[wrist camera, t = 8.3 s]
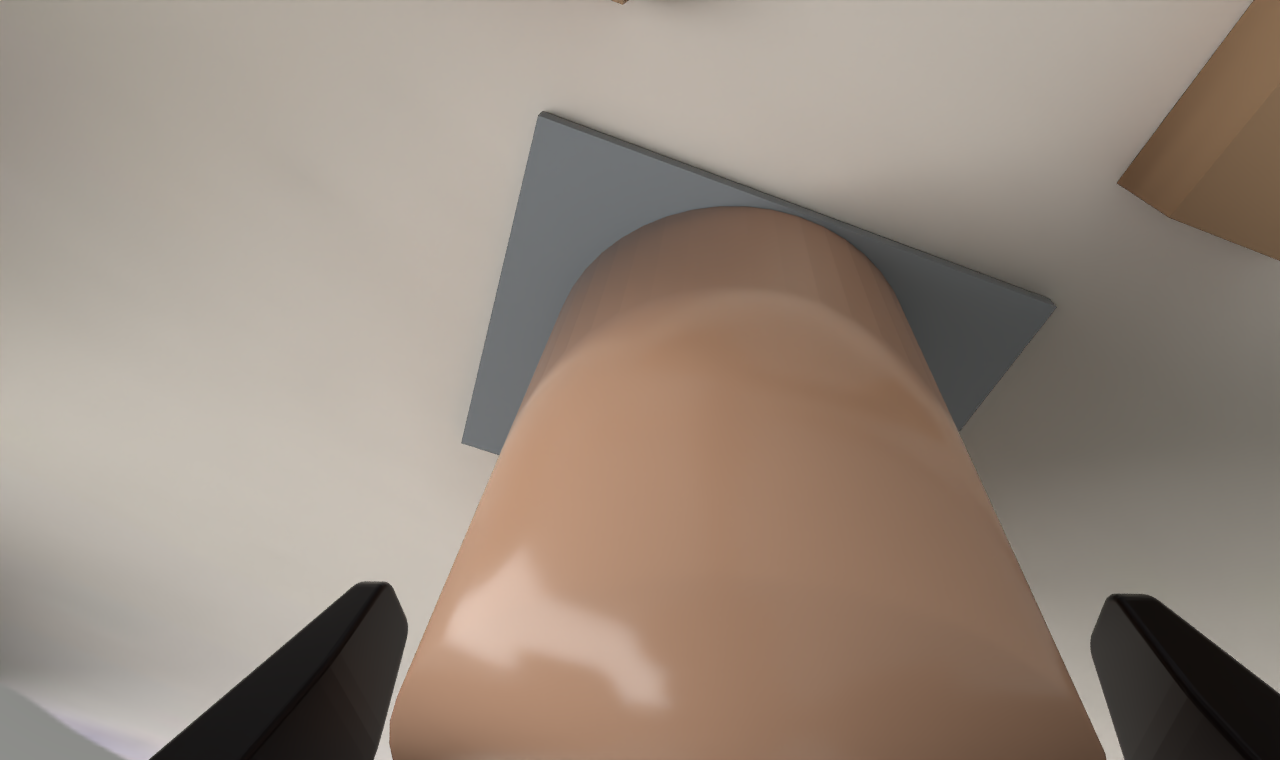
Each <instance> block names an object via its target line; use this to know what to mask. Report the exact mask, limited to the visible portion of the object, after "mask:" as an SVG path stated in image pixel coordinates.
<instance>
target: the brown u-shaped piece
mask: <svg viewBox="0 0 1280 760" xmlns="http://www.w3.org/2000/svg"><path fill="white" fill-rule="evenodd" d="M612 1H614V2H617V3H620V4H622V5H623V4H624V3H625V2H627V1H628V0H612ZM1117 184H1119V185H1120V186H1122V187H1123V188H1125V189H1126V190H1128V191H1129V192H1131V193H1132V194H1134V195H1136V196H1137V197H1139V198H1140V199H1142V200H1143V201H1145V202H1146V203H1148V204H1149V205H1151V206H1152V207H1154V208H1155V209H1157V210H1158V211H1160V212H1161V213H1163V214H1164V215H1166V216H1168V217H1169V218H1171V219H1174V220H1177V221H1179V222H1182V223H1184V224H1187V225H1189V226H1192V227H1195V228H1197V229H1200V230H1202V231H1205V232H1207V233H1210V234H1213V235H1215V236H1218V237H1220V238H1223V239H1225V240H1228V241H1230V242H1233V243H1236V244H1238V245H1241V246H1243V247H1246V248H1248V249H1251V250H1254V251H1256V252H1259V253H1261V254H1264V255H1266V256H1269V257H1272V258H1274V259H1277V260H1279V261H1280V0H1254V1H1253V2H1252V4H1251V5H1250V6H1249V7H1248V9H1247V10H1246V11H1245V13H1244V14H1243V15H1242V17H1241V18H1240V19H1239V21H1238V22H1237V23H1236V25H1235V26H1234V27H1233V29H1232V30H1231V31H1230V33H1229V34H1228V35H1227V37H1226V38H1225V39H1224V41H1223V42H1222V43H1221V45H1220V46H1219V47H1218V49H1217V50H1216V51H1215V53H1214V54H1213V55H1212V57H1211V58H1210V59H1209V61H1208V62H1207V63H1206V65H1205V66H1204V67H1203V69H1202V70H1201V71H1200V73H1199V74H1198V75H1197V77H1196V78H1195V79H1194V81H1193V82H1192V83H1191V85H1190V86H1189V87H1188V89H1187V90H1186V91H1185V93H1184V94H1183V95H1182V97H1181V98H1180V99H1179V101H1178V102H1177V103H1176V105H1175V106H1174V107H1173V109H1172V110H1171V111H1170V113H1169V114H1168V115H1167V117H1166V118H1165V119H1164V121H1163V122H1162V123H1161V125H1160V126H1159V127H1158V129H1157V130H1156V131H1155V133H1154V134H1153V135H1152V137H1151V138H1150V139H1149V141H1148V142H1147V143H1146V145H1145V146H1144V147H1143V149H1142V150H1141V151H1140V153H1139V154H1138V155H1137V157H1136V158H1135V159H1134V161H1133V162H1132V163H1131V165H1130V166H1129V167H1128V169H1127V170H1126V171H1125V173H1124V174H1123V175H1122V177H1121V178H1120V179H1119V181H1118V182H1117Z"/></svg>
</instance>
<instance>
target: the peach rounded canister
mask: <svg viewBox="0 0 1280 760" xmlns="http://www.w3.org/2000/svg"><path fill="white" fill-rule="evenodd" d="M389 744H390V749H391V753H392V758H393V760H1106V755H1105V752H1104V750H1103V748H1102V745H1101V743H1100V741H1099V739H1098V737H1097V734H1096V732H1095V730H1094V728H1093V726H1092V723H1091V721H1090V719H1089V717H1088V715H1087V712H1086V710H1085V708H1084V706H1083V704H1082V701H1081V699H1080V697H1079V695H1078V693H1077V691H1076V688H1075V686H1074V684H1073V682H1072V680H1071V677H1070V675H1069V673H1068V671H1067V669H1066V666H1065V664H1064V662H1063V660H1062V658H1061V655H1060V653H1059V651H1058V649H1057V647H1056V644H1055V642H1054V640H1053V638H1052V636H1051V634H1050V631H1049V629H1048V627H1047V625H1046V623H1045V620H1044V618H1043V616H1042V614H1041V612H1040V609H1039V607H1038V605H1037V603H1036V601H1035V598H1034V596H1033V594H1032V592H1031V590H1030V587H1029V585H1028V583H1027V581H1026V579H1025V576H1024V574H1023V572H1022V570H1021V568H1020V566H1019V563H1018V561H1017V559H1016V557H1015V555H1014V552H1013V550H1012V548H1011V546H1010V544H1009V541H1008V539H1007V537H1006V535H1005V533H1004V530H1003V528H1002V526H1001V524H1000V522H999V519H998V517H997V515H996V513H995V511H994V509H993V506H992V504H991V502H990V500H989V498H988V495H987V493H986V491H985V489H984V487H983V484H982V482H981V480H980V478H979V476H978V473H977V471H976V469H975V467H974V465H973V462H972V460H971V458H970V456H969V454H968V451H967V449H966V447H965V445H964V443H963V441H962V438H961V436H960V434H959V432H958V430H957V427H956V425H955V423H954V421H953V419H952V416H951V414H950V412H949V410H948V408H947V405H946V403H945V401H944V399H943V397H942V394H941V392H940V390H939V388H938V386H937V384H936V381H935V379H934V377H933V375H932V373H931V370H930V368H929V366H928V364H927V362H926V359H925V357H924V355H923V353H922V351H921V348H920V346H919V344H918V342H917V340H916V337H915V335H914V333H913V331H912V329H911V326H910V324H909V322H908V320H907V318H906V316H905V313H904V311H903V309H902V307H901V305H900V303H899V300H898V298H897V296H896V294H895V292H894V290H893V289H892V287H891V286H890V284H889V283H888V281H887V280H886V278H885V277H884V276H883V274H882V273H881V271H880V270H879V269H878V268H877V267H876V266H875V265H874V264H873V263H872V262H871V261H870V260H869V259H868V258H867V256H866V255H865V254H863V253H862V252H861V251H860V250H858V249H857V248H856V247H854V246H853V245H852V244H851V243H849V242H848V241H847V240H846V239H844V238H842V237H840V236H839V235H837V234H835V233H834V232H832V231H830V230H828V229H827V228H825V227H823V226H821V225H818V224H816V223H813V222H811V221H808V220H806V219H804V218H801V217H798V216H795V215H791V214H787V213H783V212H779V211H775V210H770V209H762V208H754V207H747V206H719V207H711V208H703V209H695V210H690V211H686V212H682V213H678V214H674V215H670V216H667V217H664V218H662V219H659V220H657V221H654V222H652V223H649V224H647V225H644V226H642V227H640V228H638V229H637V230H635V231H633V232H631V233H630V234H628V235H626V236H624V237H622V238H621V239H619V240H618V241H617V242H615V243H614V244H613V245H612V246H610V247H609V248H608V249H606V250H605V251H604V252H602V253H601V254H600V255H599V256H598V257H597V258H596V259H595V260H594V261H593V262H592V263H591V264H590V265H589V266H588V267H587V268H586V269H585V271H584V272H583V273H582V275H581V276H580V278H579V279H578V280H577V282H576V283H575V284H574V286H573V287H572V289H571V291H570V293H569V295H568V296H567V298H566V300H565V302H564V304H563V306H562V308H561V311H560V313H559V315H558V318H557V320H556V323H555V325H554V327H553V330H552V332H551V334H550V337H549V339H548V341H547V344H546V346H545V349H544V351H543V353H542V356H541V358H540V360H539V363H538V365H537V367H536V370H535V372H534V375H533V377H532V379H531V382H530V384H529V386H528V389H527V391H526V393H525V396H524V398H523V401H522V403H521V405H520V408H519V410H518V412H517V415H516V417H515V419H514V422H513V424H512V427H511V429H510V431H509V434H508V436H507V438H506V441H505V443H504V446H503V448H502V450H501V453H500V455H499V457H498V460H497V462H496V464H495V467H494V469H493V472H492V474H491V476H490V479H489V481H488V483H487V486H486V488H485V490H484V493H483V495H482V498H481V500H480V502H479V505H478V507H477V509H476V512H475V514H474V516H473V519H472V521H471V524H470V526H469V528H468V531H467V533H466V535H465V538H464V540H463V542H462V545H461V547H460V550H459V552H458V554H457V557H456V559H455V561H454V564H453V566H452V568H451V571H450V573H449V576H448V578H447V580H446V583H445V585H444V587H443V590H442V592H441V594H440V597H439V599H438V602H437V604H436V606H435V609H434V611H433V613H432V616H431V618H430V620H429V623H428V625H427V628H426V630H425V632H424V635H423V637H422V639H421V642H420V644H419V646H418V649H417V651H416V654H415V656H414V658H413V661H412V663H411V665H410V668H409V670H408V672H407V675H406V677H405V680H404V682H403V684H402V687H401V689H400V691H399V694H398V696H397V699H396V702H395V706H394V709H393V712H392V716H391V719H390V740H389Z"/></svg>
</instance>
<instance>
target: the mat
mask: <svg viewBox="0 0 1280 760" xmlns="http://www.w3.org/2000/svg"><path fill="white" fill-rule="evenodd" d="M719 206H747V207H754V208H762V209H770V210H775V211H779V212H783V213H787V214H791V215H795V216H798V217H801V218H804V219H806V220H808V221H811V222H813V223H816V224H818V225H821V226H823V227H825V228H827V229H828V230H830V231H832V232H834V233H835V234H837V235H839V236H840V237H842V238H844V239H846V240H847V241H848V242H849V243H851V244H852V245H853V246H854V247H856V248H857V249H858V250H860V251H861V252H862V253H863V254H865V255H866V256H867V258H868V259H869V260H870V261H871V262H872V263H873V264H874V265H875V266H876V267H877V268H878V269H879V270H880V271H881V273H882V274H883V276H884V277H885V278H886V280H887V281H888V283H889V284H890V286H891V287H892V289H893V290H894V292H895V294H896V296H897V298H898V300H899V303H900V305H901V307H902V309H903V311H904V313H905V316H906V318H907V320H908V322H909V324H910V326H911V329H912V331H913V333H914V335H915V337H916V340H917V342H918V344H919V346H920V348H921V351H922V353H923V355H924V357H925V359H926V362H927V364H928V366H929V368H930V370H931V373H932V375H933V377H934V379H935V381H936V384H937V386H938V388H939V390H940V392H941V394H942V397H943V399H944V401H945V403H946V405H947V408H948V410H949V412H950V414H951V416H952V419H953V421H954V423H955V425H956V427H957V430H958V432H959V431H960V430H961V429H962V427H963V426H964V425H965V424H966V422H967V421H968V420H969V418H970V417H971V416H972V415H973V413H974V412H975V411H976V410H977V408H978V407H979V406H980V404H981V403H982V402H983V401H984V399H985V398H986V397H987V396H988V394H989V393H990V392H991V390H992V389H993V388H994V387H995V385H996V384H997V383H998V381H999V380H1000V379H1001V378H1002V376H1003V375H1004V374H1005V373H1006V371H1007V370H1008V369H1009V367H1010V366H1011V365H1012V364H1013V362H1014V361H1015V360H1016V359H1017V357H1018V356H1019V355H1020V353H1021V352H1022V351H1023V350H1024V348H1025V347H1026V346H1027V344H1028V343H1029V342H1030V341H1031V339H1032V338H1033V337H1034V336H1035V334H1036V333H1037V332H1038V330H1039V329H1040V328H1041V327H1042V325H1043V324H1044V323H1045V321H1046V320H1047V319H1048V318H1049V316H1050V315H1051V314H1052V313H1053V311H1054V310H1055V309H1056V306H1055V304H1054V303H1053V302H1052V301H1051V300H1050V299H1049V298H1046V297H1043V296H1041V295H1038V294H1035V293H1032V292H1030V291H1027V290H1024V289H1022V288H1019V287H1016V286H1014V285H1011V284H1008V283H1005V282H1003V281H1000V280H997V279H995V278H992V277H989V276H987V275H984V274H981V273H978V272H976V271H973V270H970V269H968V268H965V267H962V266H959V265H957V264H954V263H951V262H949V261H946V260H943V259H941V258H938V257H935V256H932V255H930V254H927V253H924V252H922V251H919V250H916V249H914V248H911V247H908V246H905V245H903V244H900V243H897V242H895V241H892V240H889V239H887V238H884V237H881V236H878V235H876V234H873V233H870V232H868V231H865V230H862V229H860V228H857V227H854V226H851V225H849V224H846V223H843V222H841V221H838V220H835V219H833V218H830V217H827V216H824V215H822V214H819V213H816V212H814V211H811V210H808V209H806V208H803V207H800V206H797V205H795V204H792V203H789V202H787V201H784V200H781V199H779V198H776V197H773V196H770V195H768V194H765V193H762V192H760V191H757V190H754V189H752V188H749V187H746V186H743V185H741V184H738V183H735V182H733V181H730V180H727V179H725V178H722V177H719V176H716V175H714V174H711V173H708V172H706V171H703V170H700V169H698V168H695V167H692V166H689V165H687V164H684V163H681V162H679V161H676V160H673V159H671V158H668V157H665V156H662V155H660V154H657V153H654V152H652V151H649V150H646V149H644V148H641V147H638V146H635V145H633V144H630V143H627V142H625V141H622V140H619V139H617V138H614V137H611V136H608V135H606V134H603V133H600V132H598V131H595V130H592V129H589V128H587V127H584V126H581V125H579V124H576V123H573V122H571V121H568V120H565V119H562V118H560V117H557V116H554V115H552V114H549V113H546V112H544V111H542V112H541V113H540V114H539V115H538V119H537V123H536V127H535V131H534V136H533V140H532V144H531V148H530V153H529V157H528V161H527V165H526V170H525V174H524V178H523V182H522V187H521V191H520V195H519V199H518V204H517V208H516V212H515V217H514V221H513V225H512V229H511V234H510V238H509V242H508V246H507V251H506V255H505V259H504V263H503V268H502V272H501V276H500V280H499V285H498V289H497V293H496V297H495V302H494V306H493V310H492V314H491V319H490V323H489V327H488V332H487V336H486V340H485V344H484V349H483V353H482V357H481V361H480V366H479V370H478V374H477V378H476V383H475V387H474V391H473V395H472V400H471V404H470V408H469V412H468V417H467V421H466V425H465V429H464V434H463V438H462V442H461V443H462V444H466V445H469V446H472V447H475V448H478V449H481V450H484V451H487V452H491V453H494V454H497V455H500V453H501V450H502V448H503V446H504V443H505V441H506V438H507V436H508V434H509V431H510V429H511V427H512V424H513V422H514V419H515V417H516V415H517V412H518V410H519V408H520V405H521V403H522V401H523V398H524V396H525V393H526V391H527V389H528V386H529V384H530V382H531V379H532V377H533V375H534V372H535V370H536V367H537V365H538V363H539V360H540V358H541V356H542V353H543V351H544V349H545V346H546V344H547V341H548V339H549V337H550V334H551V332H552V330H553V327H554V325H555V323H556V320H557V318H558V315H559V313H560V311H561V308H562V306H563V304H564V302H565V300H566V298H567V296H568V295H569V293H570V291H571V289H572V287H573V286H574V284H575V283H576V282H577V280H578V279H579V278H580V276H581V275H582V273H583V272H584V271H585V269H586V268H587V267H588V266H589V265H590V264H591V263H592V262H593V261H594V260H595V259H596V258H597V257H598V256H599V255H600V254H601V253H602V252H604V251H605V250H606V249H608V248H609V247H610V246H612V245H613V244H614V243H615V242H617V241H618V240H619V239H621V238H622V237H624V236H626V235H628V234H630V233H631V232H633V231H635V230H637V229H638V228H640V227H642V226H644V225H647V224H649V223H652V222H654V221H657V220H659V219H662V218H664V217H667V216H670V215H674V214H678V213H682V212H686V211H690V210H695V209H703V208H711V207H719Z"/></svg>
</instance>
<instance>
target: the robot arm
mask: <svg viewBox="0 0 1280 760" xmlns="http://www.w3.org/2000/svg"><path fill="white" fill-rule="evenodd" d="M407 634H408V623H407V619H406V616H405V614H404V612H403V609H402V607H401V605H400V603H399V600H398V598H397V596H396V594H395V591H394V589H393V587H392V586H391V585H390V584H389V583H387V582H370V581H365V582H360V583H358V584H356V585H354V586H353V587H352V588H350V589H349V590H348V591H347V592H346V593H345V594H343V595H342V596H341V597H340V598H339V599H337V600H336V601H335V602H334V603H333V604H332V605H330V606H329V607H328V608H327V609H326V610H324V611H323V612H322V613H321V614H320V615H319V616H317V617H316V618H315V619H314V620H313V621H312V622H310V623H309V624H308V625H307V626H306V627H304V628H303V629H302V630H301V631H300V632H299V633H297V634H296V635H295V636H294V637H293V638H292V639H290V640H289V641H288V642H287V643H286V644H284V645H283V646H282V647H281V648H280V649H279V650H277V651H276V652H275V653H274V654H273V655H271V656H270V657H269V658H268V659H267V660H266V661H264V662H263V663H262V664H261V665H260V666H259V667H257V668H256V669H255V670H254V671H253V672H251V673H250V674H249V675H248V676H247V677H246V678H244V679H243V680H242V681H241V682H240V683H239V684H237V685H236V686H235V687H234V688H233V689H231V690H230V691H229V692H228V693H227V694H226V695H224V696H223V697H222V698H221V699H220V700H218V701H217V702H216V703H215V704H214V705H213V706H211V707H210V708H209V709H208V710H207V711H206V712H204V713H203V714H202V715H201V716H200V717H198V718H197V719H196V720H195V721H194V722H193V723H191V724H190V725H189V726H188V727H187V728H186V729H184V730H183V731H182V732H181V733H180V734H178V735H177V736H176V737H175V738H174V739H173V740H171V741H170V742H169V743H168V744H167V745H165V746H164V747H163V748H162V749H161V750H160V751H158V752H157V753H156V754H155V755H154V756H153V757H151V758H150V759H149V760H374V757H375V754H376V752H377V749H378V745H379V742H380V738H381V735H382V731H383V728H384V724H385V720H386V716H387V712H388V709H389V705H390V701H391V697H392V693H393V689H394V686H395V682H396V678H397V674H398V670H399V666H400V663H401V659H402V655H403V651H404V647H405V643H406V639H407ZM1090 647H1091V654H1092V658H1093V662H1094V665H1095V668H1096V671H1097V674H1098V677H1099V681H1100V684H1101V687H1102V690H1103V693H1104V696H1105V699H1106V703H1107V706H1108V709H1109V712H1110V715H1111V718H1112V722H1113V725H1114V728H1115V731H1116V734H1117V737H1118V741H1119V744H1120V747H1121V750H1122V753H1123V756H1124V760H1280V694H1279V693H1278V692H1277V691H1275V690H1274V689H1273V688H1272V687H1270V686H1269V685H1268V684H1266V683H1265V682H1264V681H1262V680H1261V679H1260V678H1259V677H1257V676H1256V675H1255V674H1253V673H1252V672H1251V671H1250V670H1248V669H1247V668H1246V667H1244V666H1243V665H1242V664H1240V663H1239V662H1238V661H1237V660H1235V659H1234V658H1233V657H1231V656H1230V655H1229V654H1228V653H1226V652H1225V651H1224V650H1222V649H1221V648H1220V647H1218V646H1217V645H1216V644H1215V643H1213V642H1212V641H1211V640H1209V639H1208V638H1207V637H1205V636H1204V635H1203V634H1202V633H1200V632H1199V631H1198V630H1196V629H1195V628H1194V627H1193V626H1191V625H1190V624H1189V623H1187V622H1186V621H1185V620H1183V619H1182V618H1181V617H1180V616H1178V615H1177V614H1176V613H1174V612H1173V611H1172V610H1171V609H1169V608H1168V607H1167V606H1165V605H1164V604H1163V603H1161V602H1160V601H1159V600H1157V599H1156V598H1154V597H1152V596H1149V595H1145V594H1112V595H1111V596H1109V597H1108V598H1107V599H1106V601H1105V603H1104V605H1103V608H1102V610H1101V613H1100V615H1099V618H1098V620H1097V623H1096V625H1095V628H1094V630H1093V633H1092V636H1091V642H1090Z"/></svg>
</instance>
